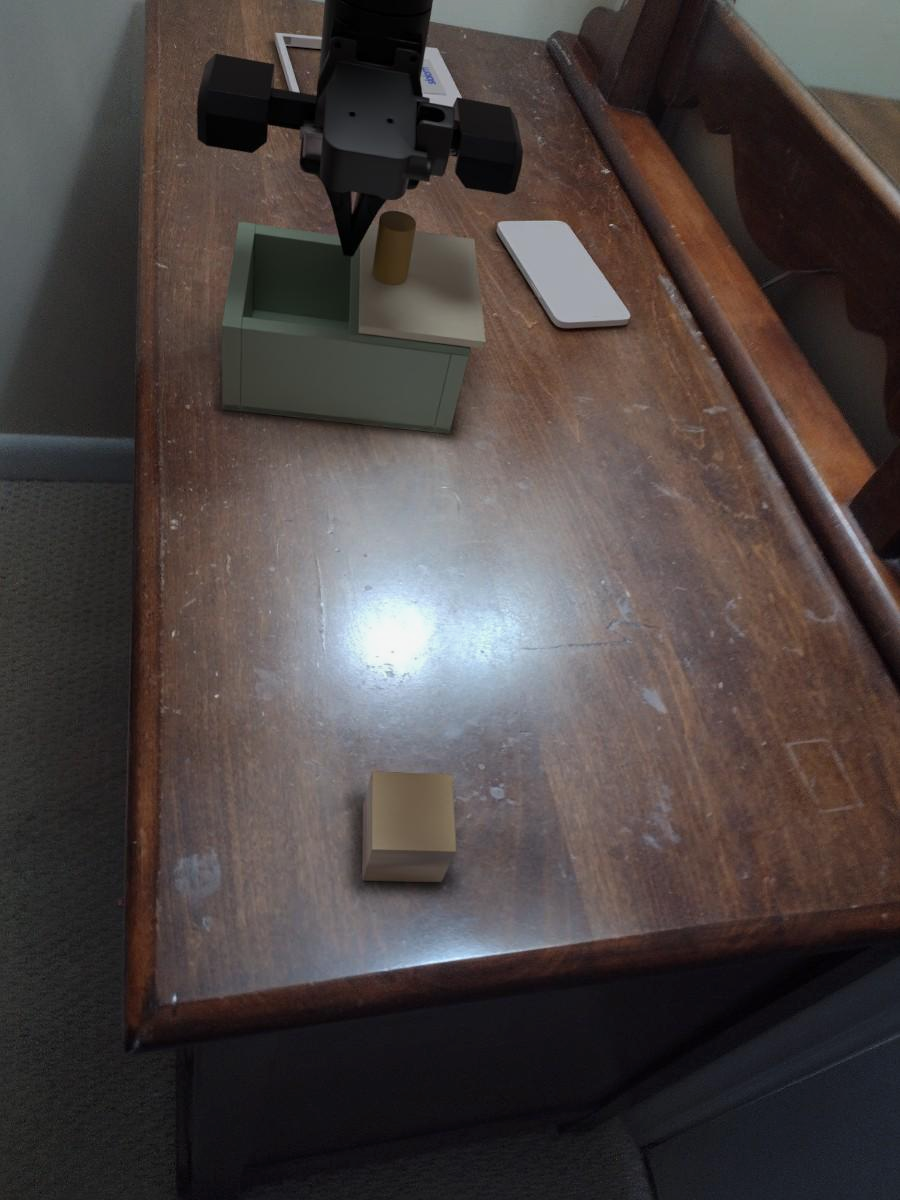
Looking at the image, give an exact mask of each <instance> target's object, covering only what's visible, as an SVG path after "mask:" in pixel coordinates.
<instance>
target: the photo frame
mask: <svg viewBox="0 0 900 1200" xmlns="http://www.w3.org/2000/svg"><path fill="white" fill-rule="evenodd" d="M321 43H322V36H316V35H315V36H314V35H305V34H295V33H284V32H274V44H275V47H276V50H277V54H278V57H279V61H280V64H281V68H282V71H283V74H284V79H285V81H286V85H287V89H288V91H293V92H299V93H301V92H300V89H299V85H298V82H297V79H296V76H295V72H294V68H293V66H292V62H291V59H290V56H289V53H288V49H287V46H288V47H298V48H307V49H308V48H309V49H316V50H317V49H318V50H321ZM420 80H421V87H422V93H423V97H427V98H430V103H434V104H440V105H446V106H451V107H453V105H454V103H455V100H456V98H457V97H458V98H463V96H462V95H461V93H460V91H459V89H458V87H457V85H456V83H455V81H454V79H453V77H452V75H451V72H450V70H449V69H448V67H447V65H446V63H445V61H444V58H443V57H442V55H441V53H440V51H439V49H438V47H429V46H426V48H425V54H424V60H423V66H422V72H421V78H420Z"/></svg>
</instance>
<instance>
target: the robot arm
mask: <svg viewBox="0 0 900 1200" xmlns="http://www.w3.org/2000/svg"><path fill="white" fill-rule="evenodd" d="M433 2H434V0H324V4H323V5H324V6H323V20H322V31H321V37H322V43H321V49H320V55H319V67H318V69H319V70H318V75H317V82H316V83H317V84H316V94H309V93H304V92H300V91H299V92H300V93H299V92H293V91H289V89H288V90H287V89H283V88H276V87H275V73H276V72H275V63H271V62H264V61H259V60H258V61H257V60H253V59H248V58H243V57H237V56H232V55H226V54H220V53H215V54H214V55H212V56H211V58H210V59H208V60H207V62H205V65H204V68H203V72H202V76H201V80H200V84H199V89H198V94H197V105H196V132H197V138H196V139H197V140H198V141H199V142H201V143H202V144H203V145H205V146H206V147H213V148H218V149H224V150H230V151H236V152H243V153H248V154H249V153H250V154H254V153H255V152H256V151H258V150H259V149H260V148H261V147H263V146H264V145H265V144H266V143H267V142H268V133H269V126H272V127H278V128H284V129H290V130H296V131H299V140H301V143H300V154H299V168H300V170H301V171H303V172H304V173H306V174H309V175H314V176H316V177H317V178H318V179H319V181H320V182H321V183H322V185H323V187H324V189H325V191H326V194H327V197H328V200H329V202H330V205H331V210H332V214H333V218H334V221H335V226H336V230H337V233H338V236H339V239H340V243H341V247H342V251H343V255H344V256H351V257H353V256H354V254H355V252H356V251H357V249H358V247H359V245H360V243H361V242H362V240H363V238H364V236H365V234H366V232H367V231H368V229H369V227H370V225H371V224H373V221H374V220H375V219H376V217H377V214H378V213H379V212H380V210H381V209H382V207H383V206H384V205H385V203H386V202H387V201H395V200H396V201H397V200H399V199H401V198H403V197H404V196H405V194H406V192H407V190H409V191H411V190H415V189H417V188H418V186H419V184H420V182H427V183H429V182H430V179H431V176H434V177H440V178H442V177H443V176H445V174H446V171H447V166H448V162H449V159H450V157H455V158H456V160H455V164H454V174H455V175H456V177H457V178H458V179H459V181H460V183H461V184H462V185H463V188H465V189H468V190H474V191H480V192H481V191H482V192H486V193H494V194H499V195H506V196H508V195H510V194H512V193H515V192H516V190H517V189H516V188H517V185H518V181H519V177H520V174H521V170H522V165H523V156H524V148H523V144H522V138H521V133H520V128H519V123H518V119H517V117H516V115H515V113H514V112H513V110H512V108H511V107H510V106H507V105H501V104H496V103H491V102H486V101H485V102H484V101H479V100H473V99H469V98H464V97H462V98H458V97H457V98H456V100H455V103H454V105H453V107H451V106H446V105H440V104H434V103H430V98H427V97H423V93H422V87H421V80H420V78H421V72H422V66H423V60H424V54H425V48H426V47H427V40H428V35H429V28H430V22H431V16H432V11H433ZM352 193H356V195H355V200H354V204H353V200H352V199H353V197H352V196H353V194H352Z"/></svg>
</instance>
